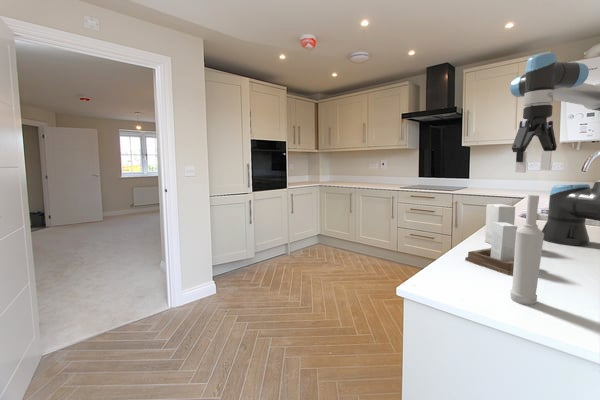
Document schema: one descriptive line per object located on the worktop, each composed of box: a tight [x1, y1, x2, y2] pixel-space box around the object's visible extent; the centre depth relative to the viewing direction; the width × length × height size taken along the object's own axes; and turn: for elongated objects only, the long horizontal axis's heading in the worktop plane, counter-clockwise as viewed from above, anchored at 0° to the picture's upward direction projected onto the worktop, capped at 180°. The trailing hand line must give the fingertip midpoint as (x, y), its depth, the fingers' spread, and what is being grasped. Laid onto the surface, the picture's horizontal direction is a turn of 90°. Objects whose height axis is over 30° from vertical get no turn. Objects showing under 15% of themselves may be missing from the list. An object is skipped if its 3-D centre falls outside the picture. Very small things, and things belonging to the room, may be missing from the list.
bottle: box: [509, 194, 544, 306], centre depth 72 cm, size 5×5×25 cm
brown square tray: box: [464, 247, 514, 276], centre depth 98 cm, size 14×14×3 cm
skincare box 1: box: [484, 203, 516, 245], centre depth 120 cm, size 8×7×16 cm
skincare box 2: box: [490, 222, 518, 262], centre depth 97 cm, size 6×4×12 cm
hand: (533, 171), depth 103 cm, fingers open, 13 cm apart
